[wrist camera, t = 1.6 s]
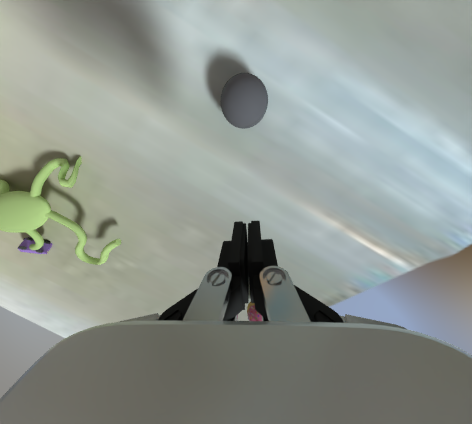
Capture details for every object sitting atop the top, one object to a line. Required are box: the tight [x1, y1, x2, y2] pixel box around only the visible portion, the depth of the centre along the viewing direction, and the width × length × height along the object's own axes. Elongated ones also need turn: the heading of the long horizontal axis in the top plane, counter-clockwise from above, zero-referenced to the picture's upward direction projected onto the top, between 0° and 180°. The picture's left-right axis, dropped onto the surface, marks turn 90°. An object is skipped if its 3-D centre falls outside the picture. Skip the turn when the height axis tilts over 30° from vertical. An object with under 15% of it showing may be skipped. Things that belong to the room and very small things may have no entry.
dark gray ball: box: [221, 73, 268, 128], centre depth 21 cm, size 6×6×6 cm
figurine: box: [0, 156, 121, 265], centre depth 31 cm, size 18×27×6 cm
